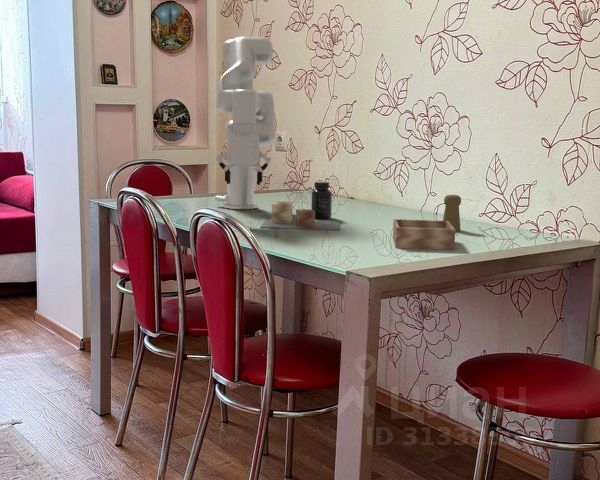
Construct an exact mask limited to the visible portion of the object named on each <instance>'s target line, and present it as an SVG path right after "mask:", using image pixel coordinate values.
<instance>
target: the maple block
mask: <svg viewBox="0 0 600 480" xmlns="http://www.w3.org/2000/svg"><path fill="white" fill-rule="evenodd" d="M271 219H272V223H291V222H292V220H293V201H276V200H275V201H273V202H272V203H271Z"/></svg>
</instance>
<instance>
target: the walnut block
mask: <svg viewBox="0 0 600 480" xmlns="http://www.w3.org/2000/svg"><path fill="white" fill-rule="evenodd" d="M295 220H296V226H297V227H298V228H315V221H316V219H315V211H313V210H311V209H295Z"/></svg>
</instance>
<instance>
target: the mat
mask: <svg viewBox="0 0 600 480" xmlns="http://www.w3.org/2000/svg"><path fill="white" fill-rule="evenodd" d="M340 226H341V221H333V220H332V221H330V220H329V221H327V220H315V228H298V227H297V226H296V219H292V222H291V223H272V218H270V219H269V218H267V219H265V220H264V222H263V223H262V224H261V226H260V227H259V228H260V229H284V230H309V231H310V230H312V231H314V230H315V231H316V230H317V231H340V228H341V227H340Z"/></svg>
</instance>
